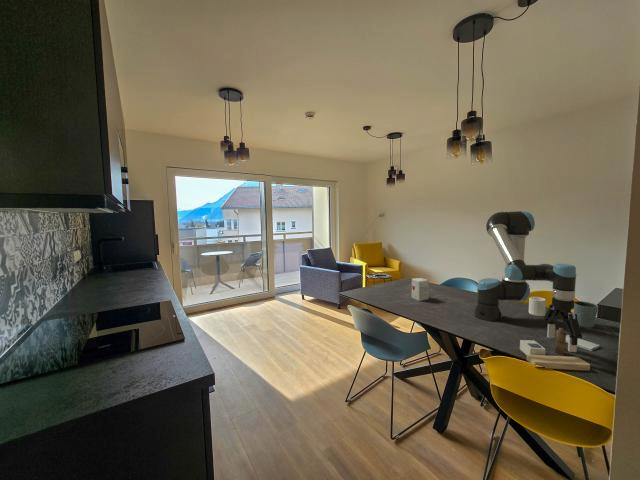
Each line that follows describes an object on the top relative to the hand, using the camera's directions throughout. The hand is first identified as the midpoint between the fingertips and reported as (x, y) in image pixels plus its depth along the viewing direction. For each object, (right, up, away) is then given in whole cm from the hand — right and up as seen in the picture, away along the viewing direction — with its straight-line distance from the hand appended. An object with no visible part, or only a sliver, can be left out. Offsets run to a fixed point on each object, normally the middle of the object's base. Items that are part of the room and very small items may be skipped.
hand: (560, 344), depth 123 cm
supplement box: (-34, +3, +83) cm, 90 cm away
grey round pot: (+39, -1, +30) cm, 49 cm away
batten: (-9, -6, -9) cm, 14 cm away
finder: (-13, -5, 0) cm, 14 cm away
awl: (0, -4, +1) cm, 4 cm away
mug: (+28, +1, +48) cm, 55 cm away
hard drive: (+17, -4, +9) cm, 19 cm away
